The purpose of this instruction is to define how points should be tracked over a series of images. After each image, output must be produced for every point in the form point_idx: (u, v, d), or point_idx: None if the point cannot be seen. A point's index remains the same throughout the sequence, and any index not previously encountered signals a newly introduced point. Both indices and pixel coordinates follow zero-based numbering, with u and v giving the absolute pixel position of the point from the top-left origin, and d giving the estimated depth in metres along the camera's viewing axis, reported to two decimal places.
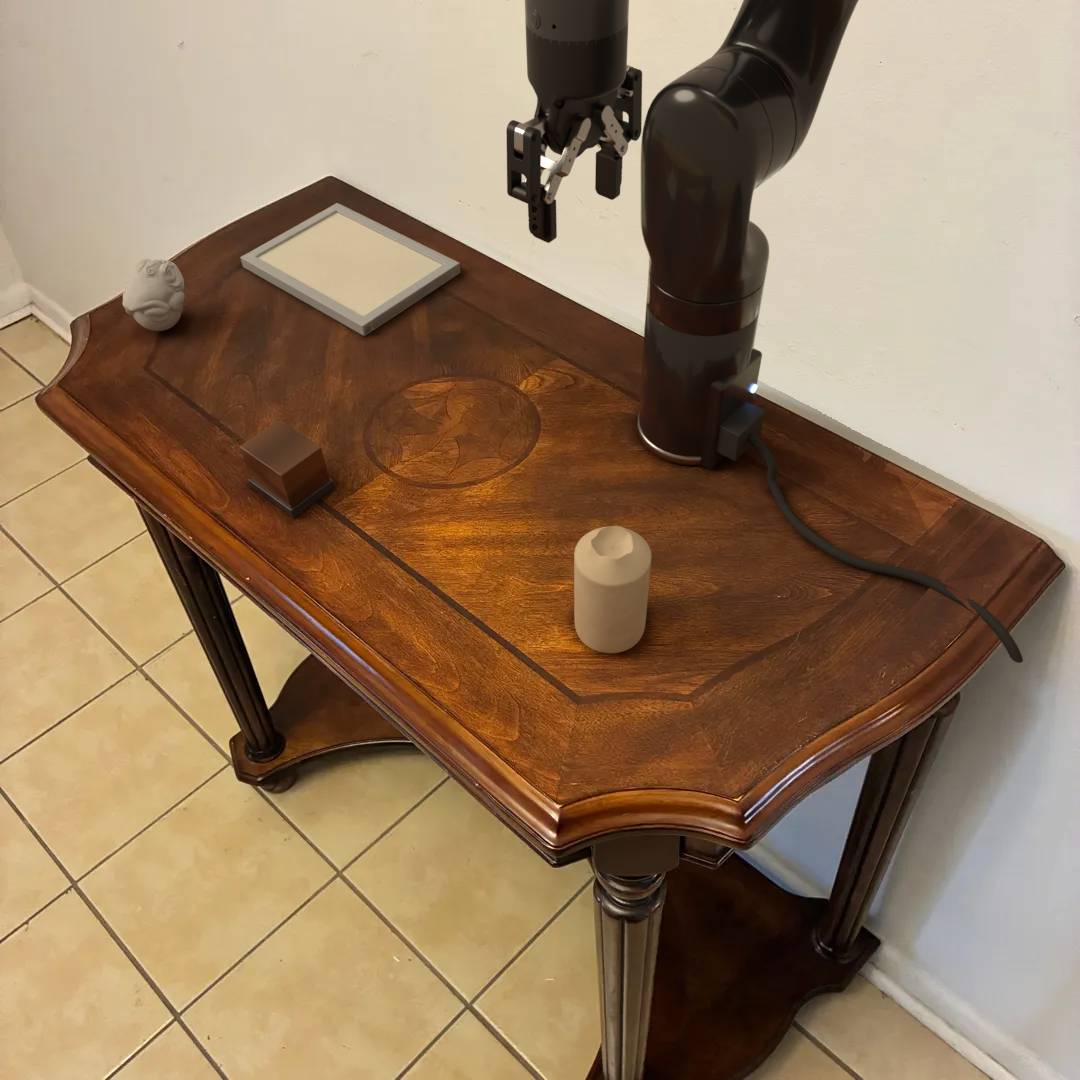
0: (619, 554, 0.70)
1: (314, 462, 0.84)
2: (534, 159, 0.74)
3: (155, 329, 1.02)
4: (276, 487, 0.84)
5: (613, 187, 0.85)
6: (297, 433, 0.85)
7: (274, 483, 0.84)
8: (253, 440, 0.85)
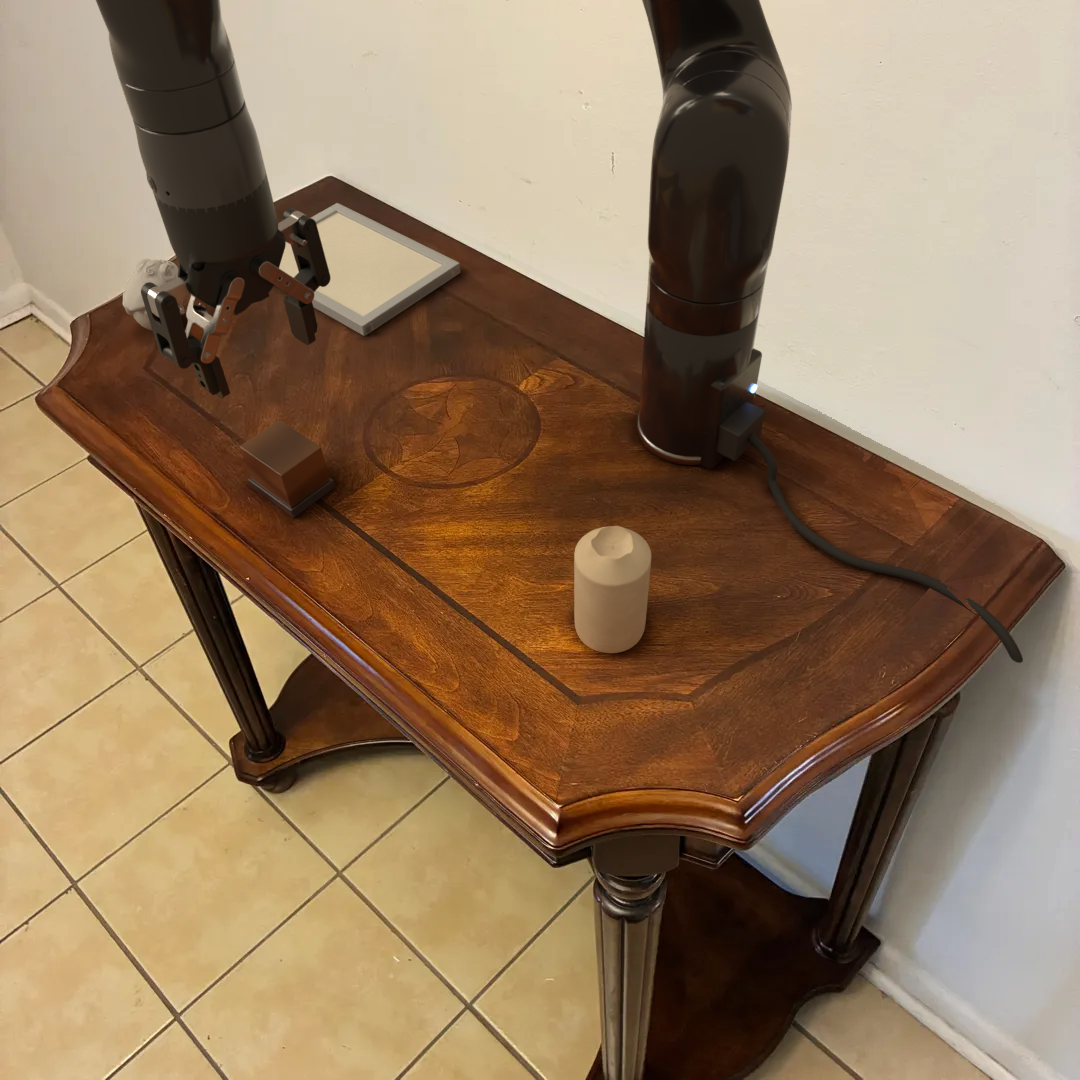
0: (619, 554, 0.70)
1: (314, 462, 0.84)
2: (172, 325, 0.69)
3: None
4: (276, 487, 0.84)
5: (305, 333, 0.79)
6: (297, 433, 0.85)
7: (274, 483, 0.84)
8: (253, 440, 0.85)
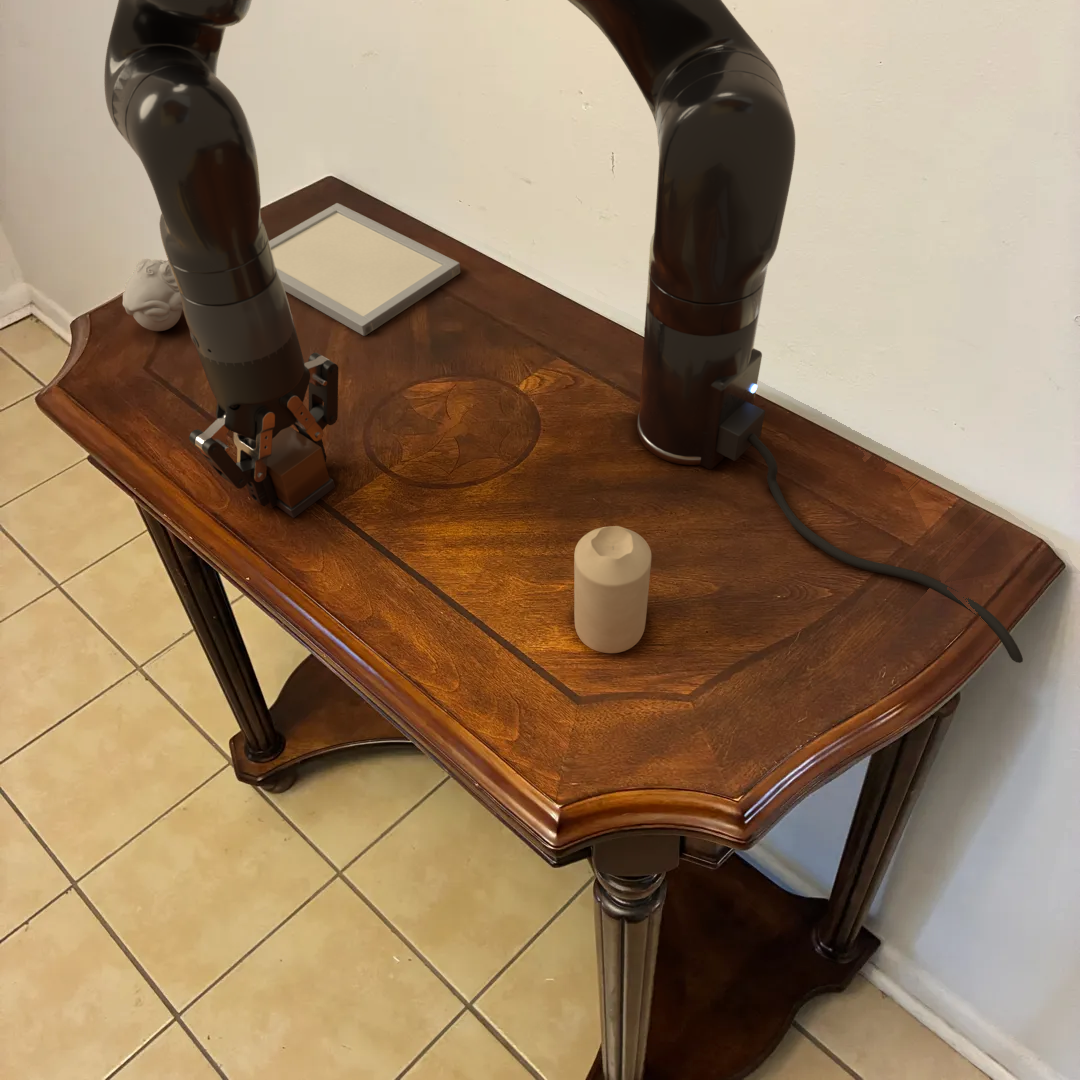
0: (619, 554, 0.70)
1: (314, 462, 0.84)
2: (222, 462, 0.78)
3: (155, 329, 1.02)
4: (276, 487, 0.84)
5: None
6: (297, 433, 0.85)
7: (274, 483, 0.84)
8: None
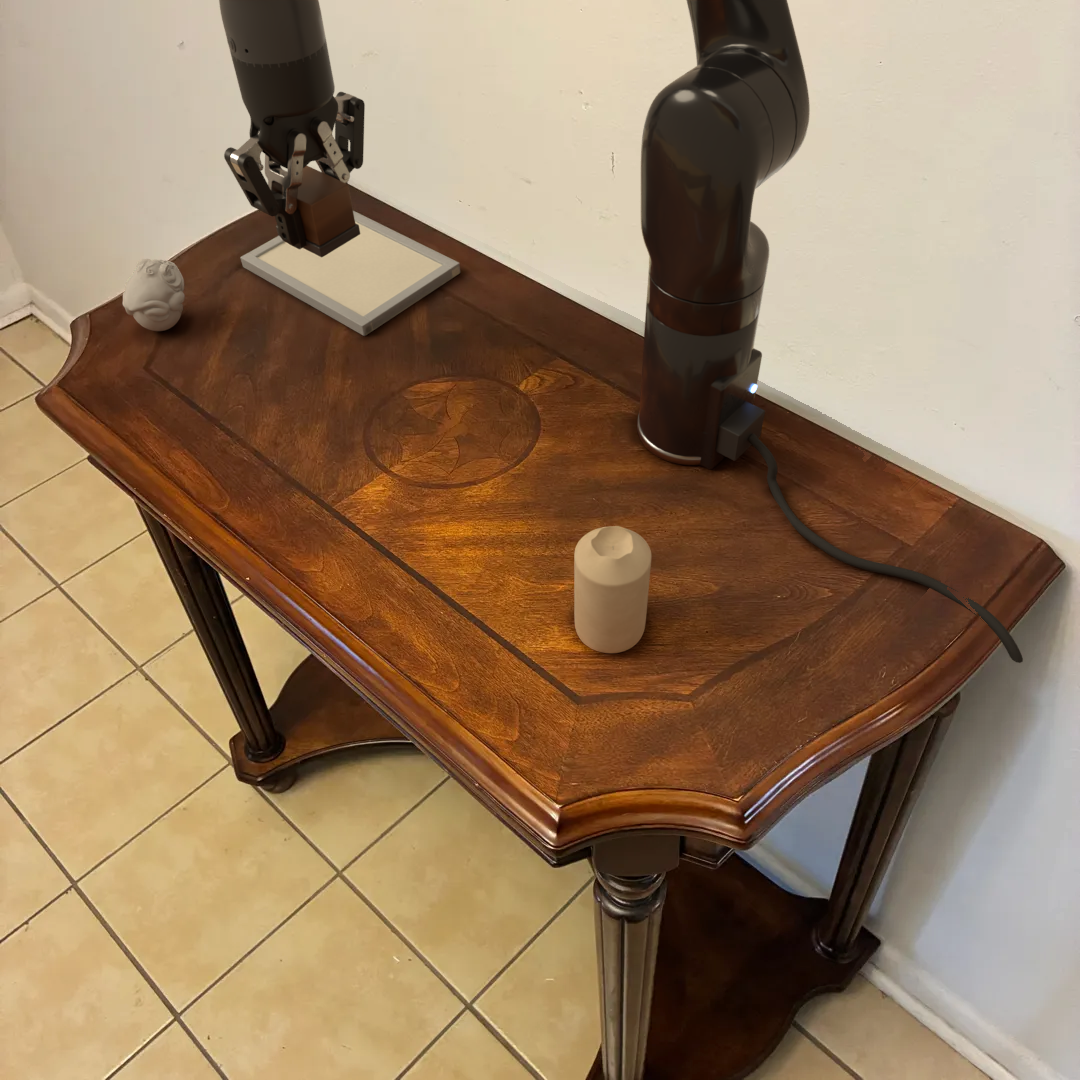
0: (619, 554, 0.70)
1: (341, 200, 0.87)
2: (256, 181, 0.81)
3: (155, 329, 1.02)
4: (305, 223, 0.87)
5: None
6: (324, 174, 0.88)
7: (303, 220, 0.87)
8: None
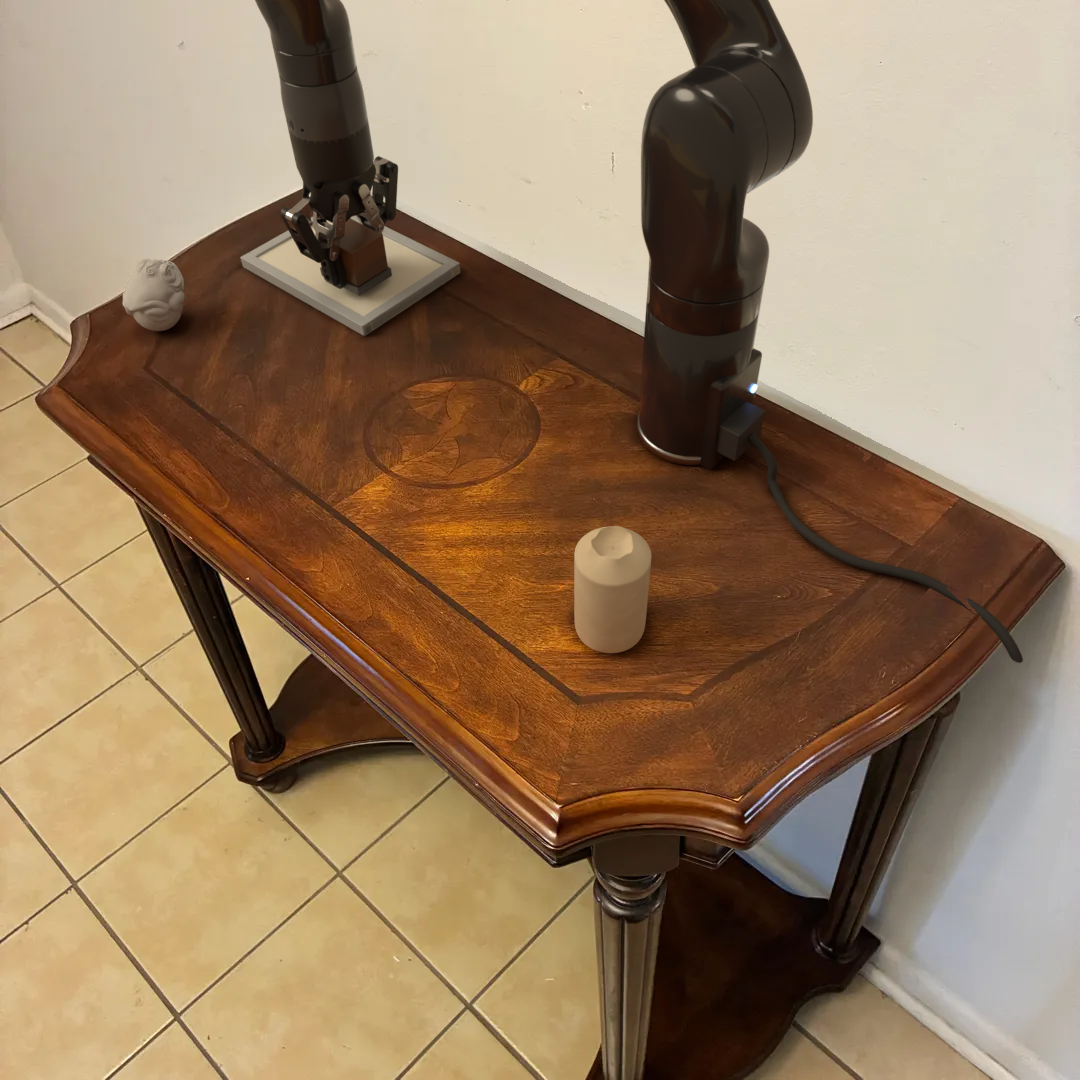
0: (619, 554, 0.70)
1: (377, 248, 1.02)
2: (306, 235, 0.96)
3: (155, 329, 1.02)
4: (346, 267, 1.02)
5: None
6: (362, 225, 1.03)
7: (344, 264, 1.02)
8: None
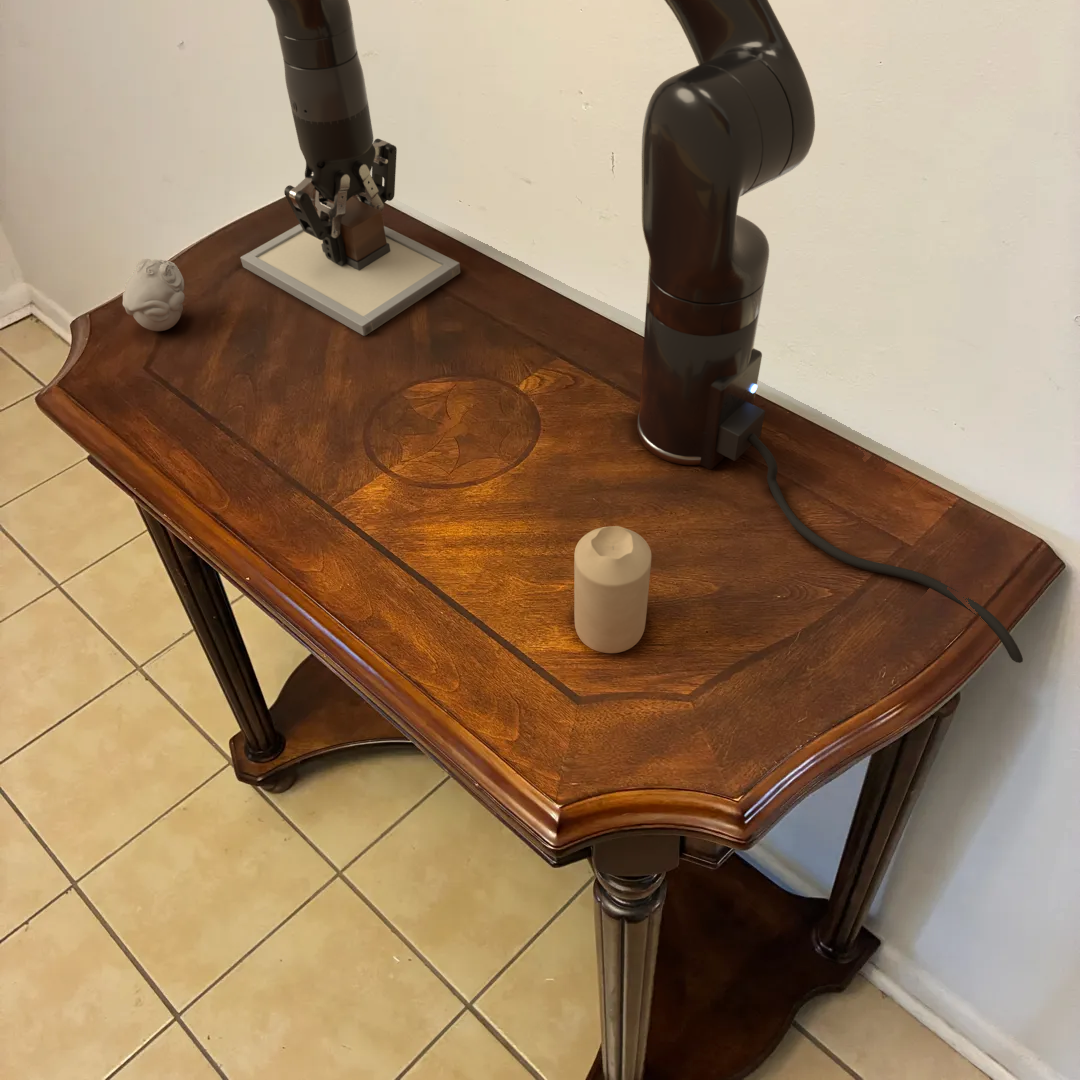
0: (619, 554, 0.70)
1: (376, 224, 1.07)
2: (309, 212, 1.01)
3: (155, 329, 1.02)
4: (346, 243, 1.07)
5: None
6: (362, 202, 1.08)
7: (345, 240, 1.06)
8: None
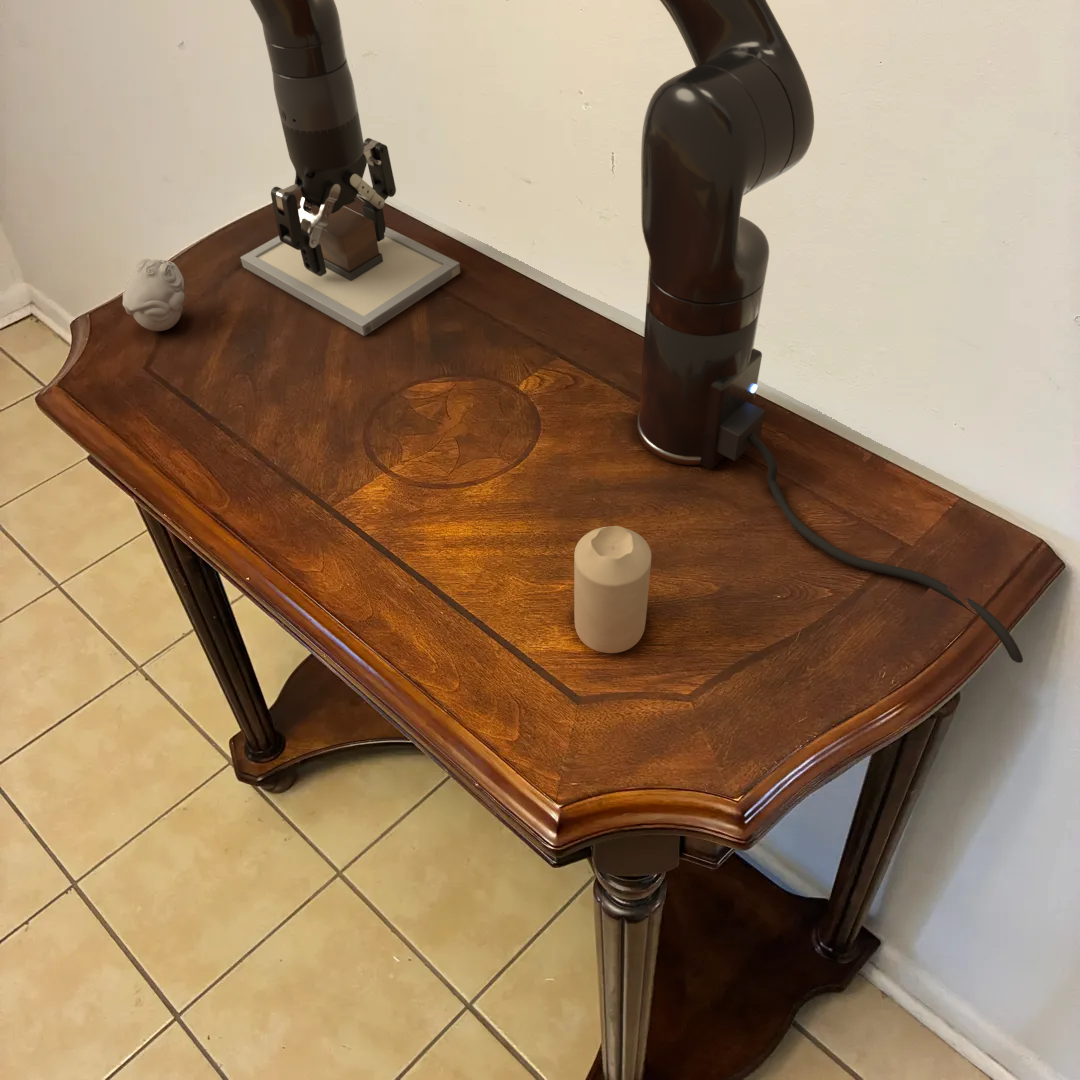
0: (619, 554, 0.70)
1: (368, 234, 1.05)
2: (292, 216, 0.98)
3: (155, 329, 1.02)
4: (338, 253, 1.05)
5: (377, 232, 1.09)
6: (354, 212, 1.06)
7: (336, 250, 1.05)
8: None
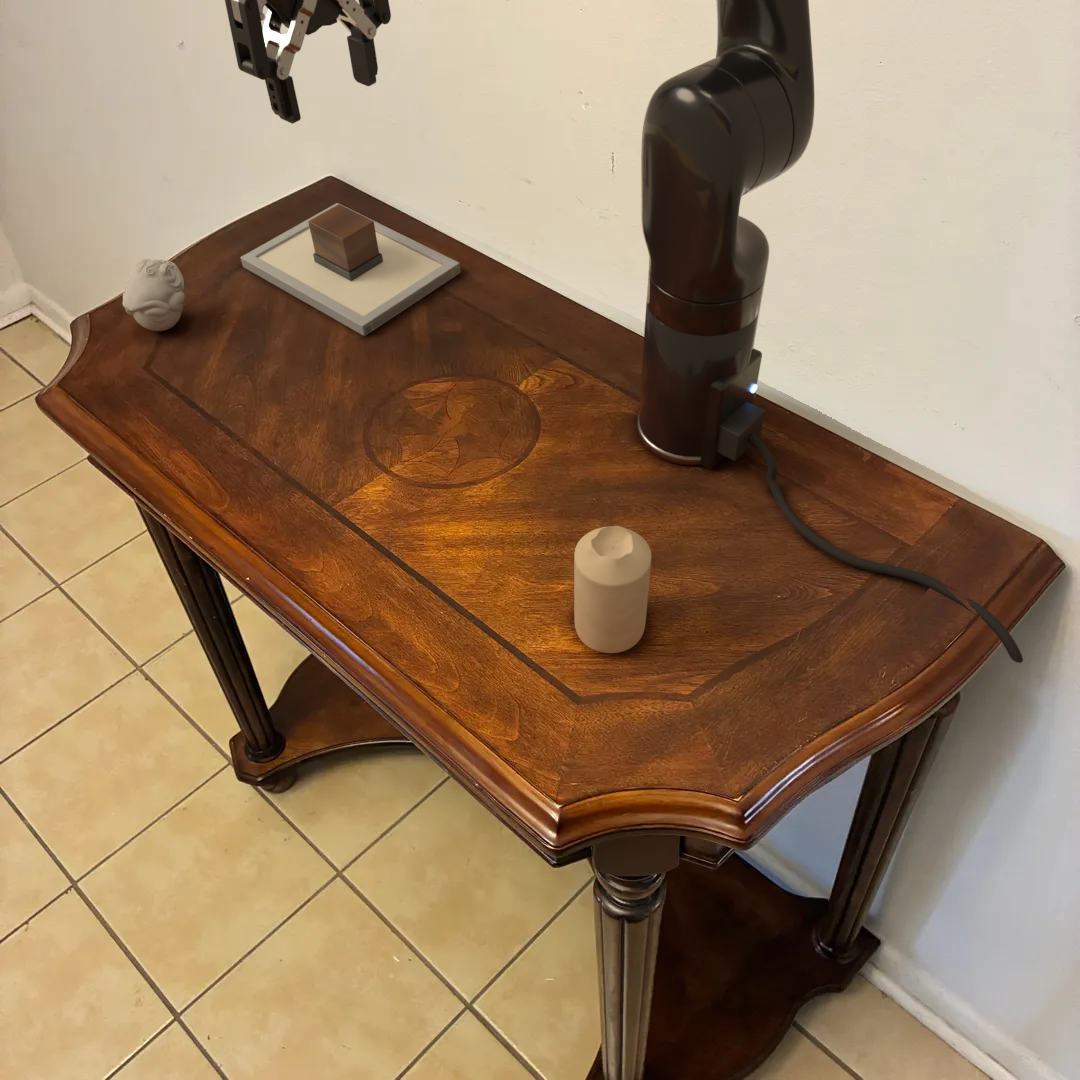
0: (619, 554, 0.70)
1: (368, 234, 1.05)
2: (253, 29, 0.74)
3: (155, 329, 1.02)
4: (338, 253, 1.05)
5: (367, 72, 0.85)
6: (354, 212, 1.06)
7: (336, 250, 1.05)
8: (318, 217, 1.06)
